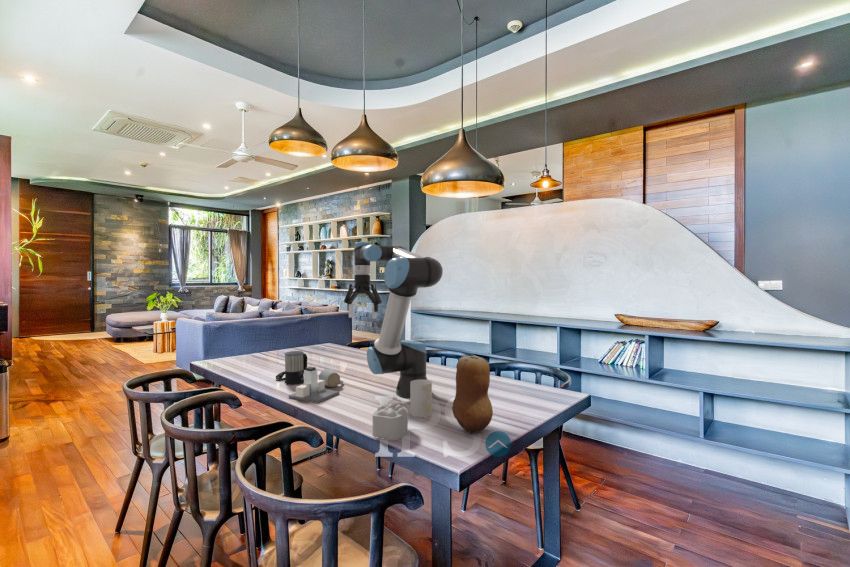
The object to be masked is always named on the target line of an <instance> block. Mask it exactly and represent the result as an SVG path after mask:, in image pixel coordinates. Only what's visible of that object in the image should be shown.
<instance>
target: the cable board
mask: <svg viewBox="0 0 850 567" xmlns="http://www.w3.org/2000/svg"><path fill="white" fill-rule="evenodd" d="M317 389H318V392H317V393H314V394H310V386H308V385H304V384H299V385H298V386H296V387H295V392H294V393H291V394H288V398H289V399H292V398H295V399H294V400H298V399H300V400H299V401H304V400H307V401H306V402H310V401H311V402H312V403H316V402H317V403H318V404H320V403H321V402H324V401H326V400H329V399H331V398H333V396H334V397H336V396H339V395H340V391H339V390H333V389H326V386H325V380H319V379H317ZM335 395H336V396H335Z"/></svg>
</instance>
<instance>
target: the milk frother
mask: <svg viewBox="0 0 850 567" xmlns="http://www.w3.org/2000/svg"><path fill="white" fill-rule="evenodd" d="M284 358H285V359H284V362H285V363H284V369H285V370H284V371H282V372H279V373H278V374H276V375H275V380H277V381H281V380H282V381H284V384H285V383H286V384H285V385H288V384H295V385H300V384H299V383H301V384H303V383H304V370H306V368H307V367H308V355H307V354H306V353H305V352H304V351H302V350H291V351H286V352H284ZM302 382H303V383H302Z"/></svg>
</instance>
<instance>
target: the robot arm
mask: <svg viewBox="0 0 850 567" xmlns="http://www.w3.org/2000/svg"><path fill="white" fill-rule="evenodd" d="M353 252H354V253H353V255H354V258H353V261H354V283H349V286H348V290H347V292H346V294H345V295H346V296H345V297H344V300H343V303H344V304H347V305H346V306H347V307H346V308H347V311H348V318H349V319H351V318H354V304H353V302H354V300H355V299H357V296H359V294H366V296H367V297H368V298H369V300H370V301H371V303H372V305H371V307H372V310H371V315H372V316H371V318H372V320H374V319H377V318H378V317H377V316H378V315H377V312H379V305H380V304H382V300H381V296H380V295H379V293H378V290H377V285H376V284H374V283H373V284H370V283H371V275H370V274H371V262H386V263H387V264H386V266H385V270H384V273H383V274H384V278H383V279H384V284H385V285H386V287H387V290H388V291H389V295H388V300H387V303H386V304H387V305H386V308H385V313H384V316H383V321H382V326H381V330H380V333H379V337H378V338H377V339H376V340H375V341H374V343H373V346H369V347H368V348H367V349H366V362H367V365H368V368H369V371H370V372H371V373H372V374H374V375H384V374H390V373H391V374H392V373H399V378H398V382H397V385H396V388H395V394H396V395H397V396H398V395H399V397H403V398H409V399H410V382H411V381H413V380H428V377H427V345H426V344H425V343H424V342H421V341H417V340H407V339H401V338H402V334H403V330H404V327H405V322H406V320H407V315H408V311H409V308H410V304H411V300H412V298H413V297H416V295H417V292H418V289H419V288H430V287H433V286H435V285H437V284H438V283H439V282H440V281H441V279H442V278H443V274H444V272H443V266H442V264H441V262H439V260H438V259H435V258H433V257H430V256H421V255H419V254H416V253H414V252H411V251H409V250H408V248H407V247H406V246H402V245H378V244H370V242H369V241H356V242H355V243H354V249H353ZM370 289H371V290H370Z"/></svg>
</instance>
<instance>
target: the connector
mask: <svg viewBox="0 0 850 567" xmlns="http://www.w3.org/2000/svg"><path fill="white" fill-rule="evenodd" d="M317 380H318V369H317V368H316V367H315V366H307V368H306V370H304V382H303V385H308V386H310V394H314V393H317V392H318V389H317Z"/></svg>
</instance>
